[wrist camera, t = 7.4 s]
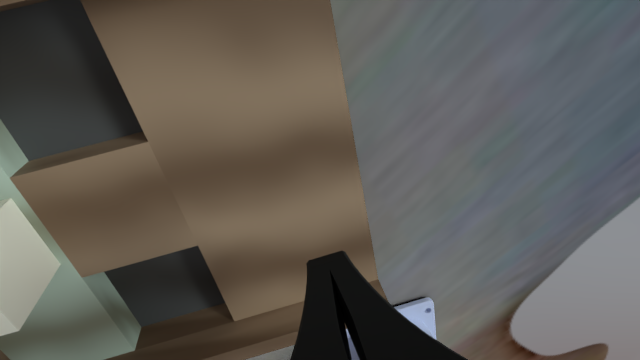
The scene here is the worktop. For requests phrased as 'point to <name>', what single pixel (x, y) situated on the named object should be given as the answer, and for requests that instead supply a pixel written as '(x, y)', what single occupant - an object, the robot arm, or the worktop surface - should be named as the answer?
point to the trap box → (176, 172)
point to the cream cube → (21, 267)
